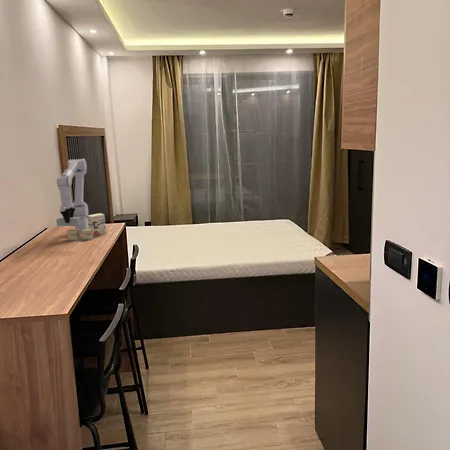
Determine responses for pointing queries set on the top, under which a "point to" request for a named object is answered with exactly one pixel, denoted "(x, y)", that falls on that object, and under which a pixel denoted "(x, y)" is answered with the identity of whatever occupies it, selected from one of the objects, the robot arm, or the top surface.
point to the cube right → (87, 234)
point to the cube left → (73, 234)
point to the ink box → (97, 223)
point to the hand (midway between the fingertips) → (69, 221)
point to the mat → (81, 239)
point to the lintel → (73, 221)
